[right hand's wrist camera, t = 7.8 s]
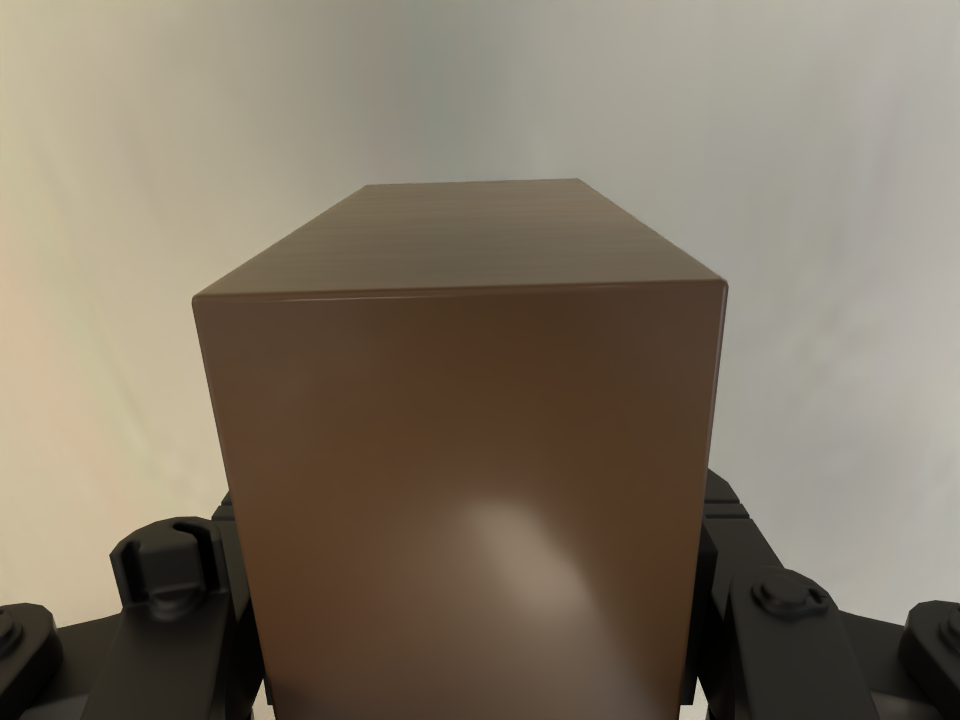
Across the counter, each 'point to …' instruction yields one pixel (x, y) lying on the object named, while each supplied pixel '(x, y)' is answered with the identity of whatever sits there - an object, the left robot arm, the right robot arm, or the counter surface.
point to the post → (468, 452)
